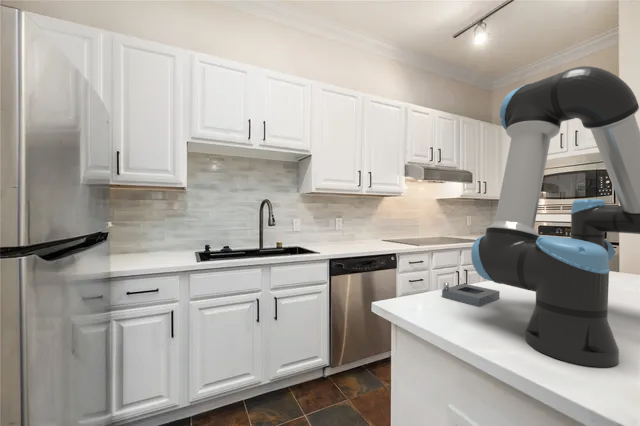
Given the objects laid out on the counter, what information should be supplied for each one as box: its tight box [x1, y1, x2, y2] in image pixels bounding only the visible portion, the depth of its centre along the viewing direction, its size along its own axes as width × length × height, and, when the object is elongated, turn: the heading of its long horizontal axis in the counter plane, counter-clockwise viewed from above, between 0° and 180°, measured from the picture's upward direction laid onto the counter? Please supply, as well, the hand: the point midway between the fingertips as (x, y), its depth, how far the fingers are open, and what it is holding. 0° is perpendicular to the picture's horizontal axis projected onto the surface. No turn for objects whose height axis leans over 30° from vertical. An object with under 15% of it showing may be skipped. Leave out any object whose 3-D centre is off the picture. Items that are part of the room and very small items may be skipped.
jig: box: [441, 282, 501, 308], centre depth 99 cm, size 14×12×4 cm
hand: (482, 251), depth 87 cm, fingers closed on bushing, 4 cm apart
